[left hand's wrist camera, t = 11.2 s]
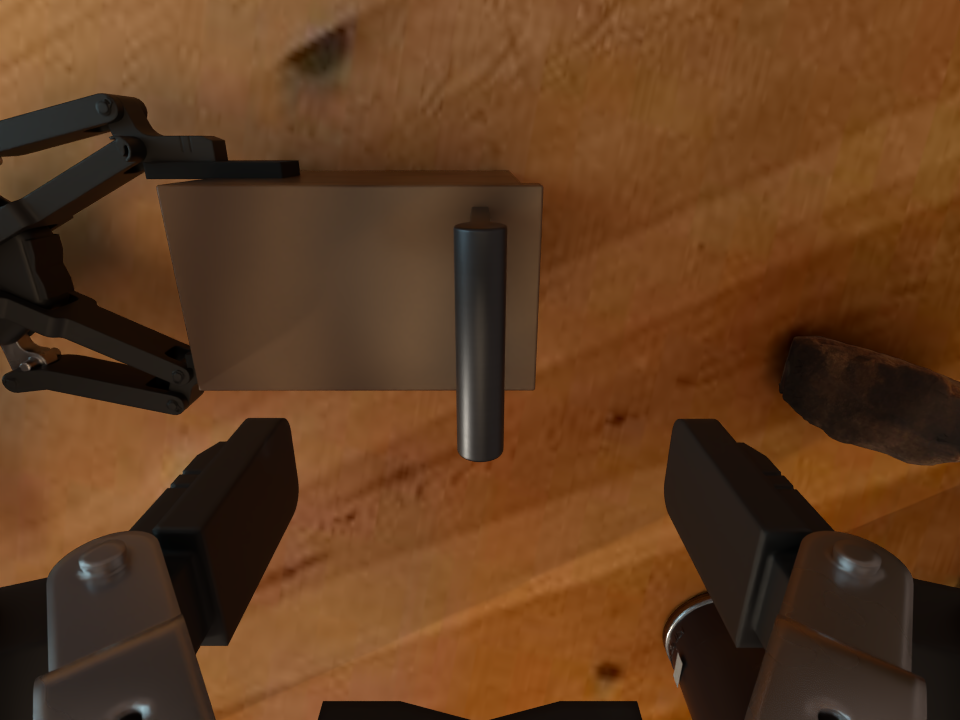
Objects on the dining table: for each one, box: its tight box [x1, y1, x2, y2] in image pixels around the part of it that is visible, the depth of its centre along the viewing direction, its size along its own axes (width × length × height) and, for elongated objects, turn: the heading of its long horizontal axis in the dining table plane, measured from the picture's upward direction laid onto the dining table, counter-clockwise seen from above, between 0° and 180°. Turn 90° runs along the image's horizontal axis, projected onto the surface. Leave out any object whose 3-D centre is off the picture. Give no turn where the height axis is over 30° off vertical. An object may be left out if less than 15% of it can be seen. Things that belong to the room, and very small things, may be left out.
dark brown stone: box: [779, 336, 960, 465], centre depth 33 cm, size 12×6×11 cm, turn 76°
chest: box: [178, 171, 521, 183], centre depth 30 cm, size 15×9×11 cm, turn 90°
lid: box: [156, 183, 543, 462], centre depth 21 cm, size 16×9×8 cm, turn 90°
